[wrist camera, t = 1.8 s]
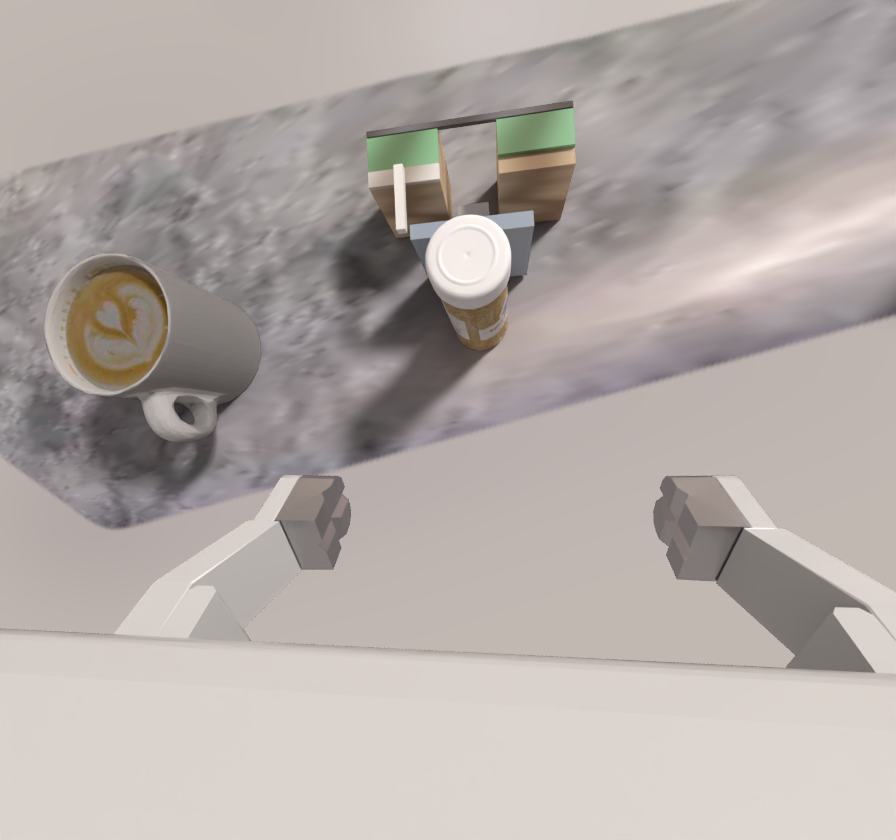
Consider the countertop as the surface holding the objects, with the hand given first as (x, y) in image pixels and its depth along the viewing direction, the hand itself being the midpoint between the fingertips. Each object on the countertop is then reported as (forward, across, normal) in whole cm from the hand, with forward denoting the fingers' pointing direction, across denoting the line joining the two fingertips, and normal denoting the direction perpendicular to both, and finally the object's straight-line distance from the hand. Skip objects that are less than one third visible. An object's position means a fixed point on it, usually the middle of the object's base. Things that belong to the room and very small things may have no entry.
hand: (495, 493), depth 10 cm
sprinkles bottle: (+25, +1, +5) cm, 26 cm away
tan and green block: (+31, +1, -3) cm, 31 cm away
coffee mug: (+24, +26, +8) cm, 36 cm away
